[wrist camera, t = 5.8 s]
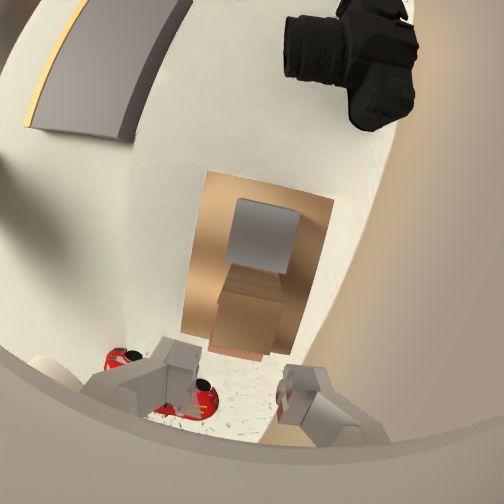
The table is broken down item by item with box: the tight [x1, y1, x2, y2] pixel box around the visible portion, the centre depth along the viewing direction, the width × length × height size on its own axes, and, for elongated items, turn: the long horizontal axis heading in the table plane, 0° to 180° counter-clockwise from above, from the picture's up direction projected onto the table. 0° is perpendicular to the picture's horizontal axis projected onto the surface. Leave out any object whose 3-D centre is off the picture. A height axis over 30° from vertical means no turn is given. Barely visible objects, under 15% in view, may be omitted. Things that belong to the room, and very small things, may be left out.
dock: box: [23, 0, 193, 142], centre depth 18 cm, size 17×14×3 cm
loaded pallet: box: [181, 171, 334, 355], centre depth 18 cm, size 14×10×12 cm
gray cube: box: [224, 198, 301, 274], centre depth 19 cm, size 4×4×4 cm
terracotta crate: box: [208, 284, 263, 362], centre depth 20 cm, size 4×4×4 cm
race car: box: [104, 348, 219, 421], centre depth 25 cm, size 13×5×4 cm, turn 69°
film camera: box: [283, 0, 419, 132], centre depth 15 cm, size 15×10×9 cm, turn 178°
